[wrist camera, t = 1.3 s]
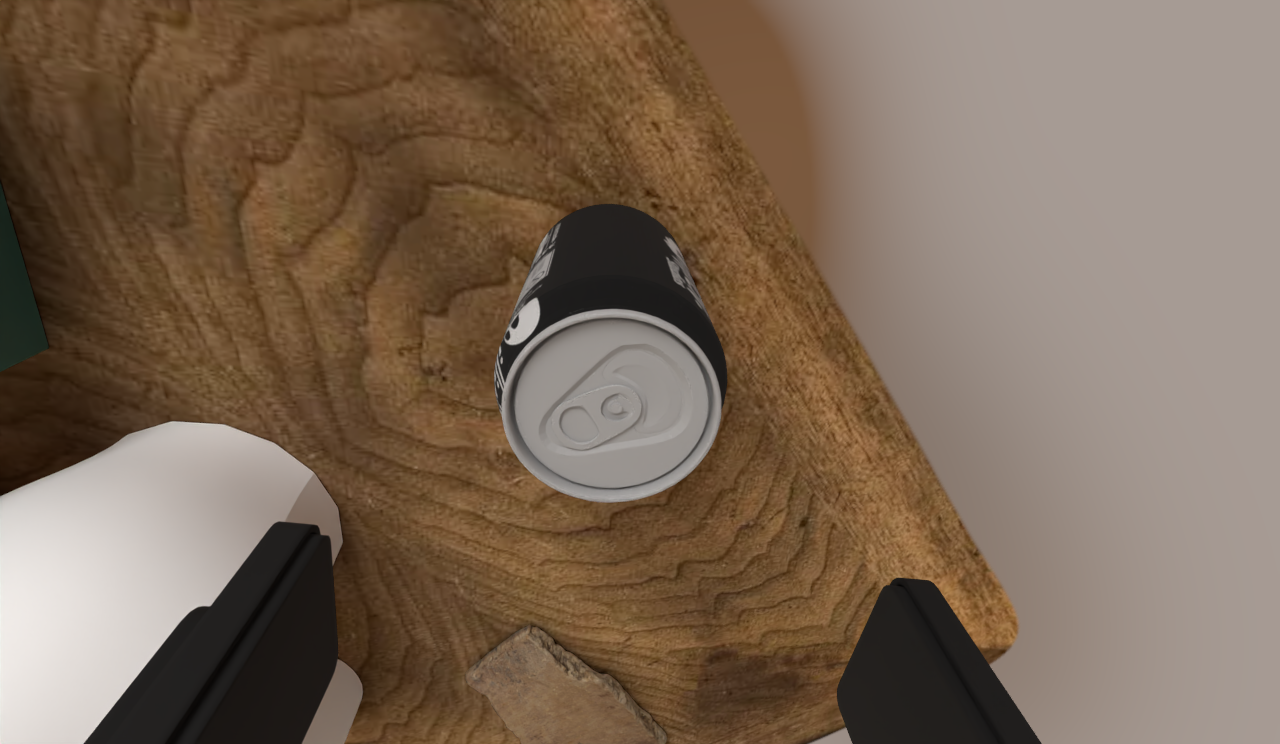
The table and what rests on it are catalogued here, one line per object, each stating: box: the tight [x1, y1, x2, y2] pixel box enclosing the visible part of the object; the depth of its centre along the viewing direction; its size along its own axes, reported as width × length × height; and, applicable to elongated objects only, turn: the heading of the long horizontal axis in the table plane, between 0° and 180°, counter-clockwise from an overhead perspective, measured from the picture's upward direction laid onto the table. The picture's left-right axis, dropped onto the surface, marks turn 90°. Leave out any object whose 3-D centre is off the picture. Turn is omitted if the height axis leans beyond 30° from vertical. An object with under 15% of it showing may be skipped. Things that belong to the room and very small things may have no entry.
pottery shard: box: [465, 625, 667, 744], centre depth 38 cm, size 8×3×15 cm
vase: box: [0, 421, 343, 744], centre depth 22 cm, size 14×14×20 cm
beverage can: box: [494, 204, 727, 502], centre depth 21 cm, size 7×7×12 cm
